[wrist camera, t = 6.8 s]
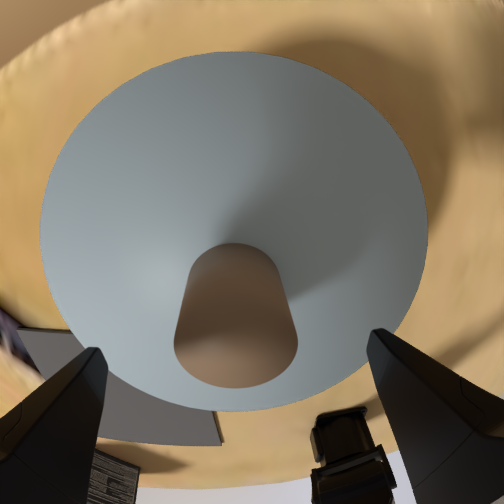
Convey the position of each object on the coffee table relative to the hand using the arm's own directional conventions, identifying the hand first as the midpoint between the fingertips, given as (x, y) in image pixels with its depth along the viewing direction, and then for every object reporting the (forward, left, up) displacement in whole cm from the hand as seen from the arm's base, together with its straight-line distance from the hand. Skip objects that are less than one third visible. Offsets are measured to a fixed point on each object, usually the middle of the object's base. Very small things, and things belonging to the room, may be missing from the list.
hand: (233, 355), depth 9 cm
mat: (+14, +19, -12) cm, 27 cm away
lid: (0, 0, -5) cm, 5 cm away
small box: (+25, +39, -13) cm, 48 cm away
